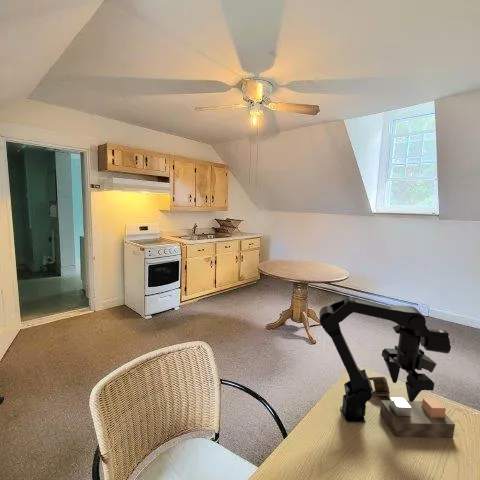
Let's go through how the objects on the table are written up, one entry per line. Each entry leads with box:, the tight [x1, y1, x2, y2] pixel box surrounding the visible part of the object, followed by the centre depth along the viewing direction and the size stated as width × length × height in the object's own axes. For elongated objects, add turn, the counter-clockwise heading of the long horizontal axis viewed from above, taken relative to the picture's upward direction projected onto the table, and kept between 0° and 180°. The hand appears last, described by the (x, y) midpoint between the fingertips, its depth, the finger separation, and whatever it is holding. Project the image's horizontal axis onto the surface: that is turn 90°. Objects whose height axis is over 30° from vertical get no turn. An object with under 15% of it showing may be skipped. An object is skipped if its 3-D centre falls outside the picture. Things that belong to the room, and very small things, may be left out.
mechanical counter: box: [369, 376, 391, 400], centre depth 108 cm, size 7×13×10 cm
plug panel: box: [379, 399, 456, 439], centre depth 92 cm, size 18×10×5 cm, turn 90°
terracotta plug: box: [422, 397, 447, 418], centre depth 92 cm, size 4×4×5 cm
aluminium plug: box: [389, 397, 411, 417], centre depth 92 cm, size 4×4×5 cm
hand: (402, 391), depth 91 cm, fingers open, 9 cm apart
